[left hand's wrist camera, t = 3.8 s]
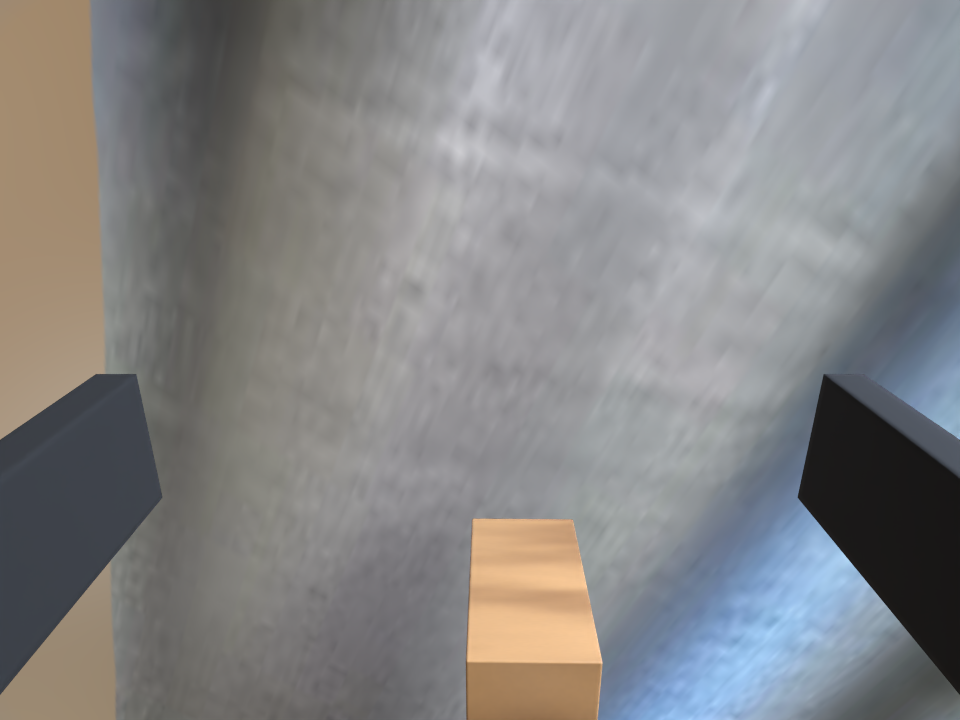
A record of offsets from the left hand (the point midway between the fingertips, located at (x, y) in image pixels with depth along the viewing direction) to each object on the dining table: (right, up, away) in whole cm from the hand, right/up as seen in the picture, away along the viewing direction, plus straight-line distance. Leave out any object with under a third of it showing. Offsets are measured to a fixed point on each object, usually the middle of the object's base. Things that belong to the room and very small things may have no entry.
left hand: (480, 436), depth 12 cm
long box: (+2, -20, +30) cm, 36 cm away
